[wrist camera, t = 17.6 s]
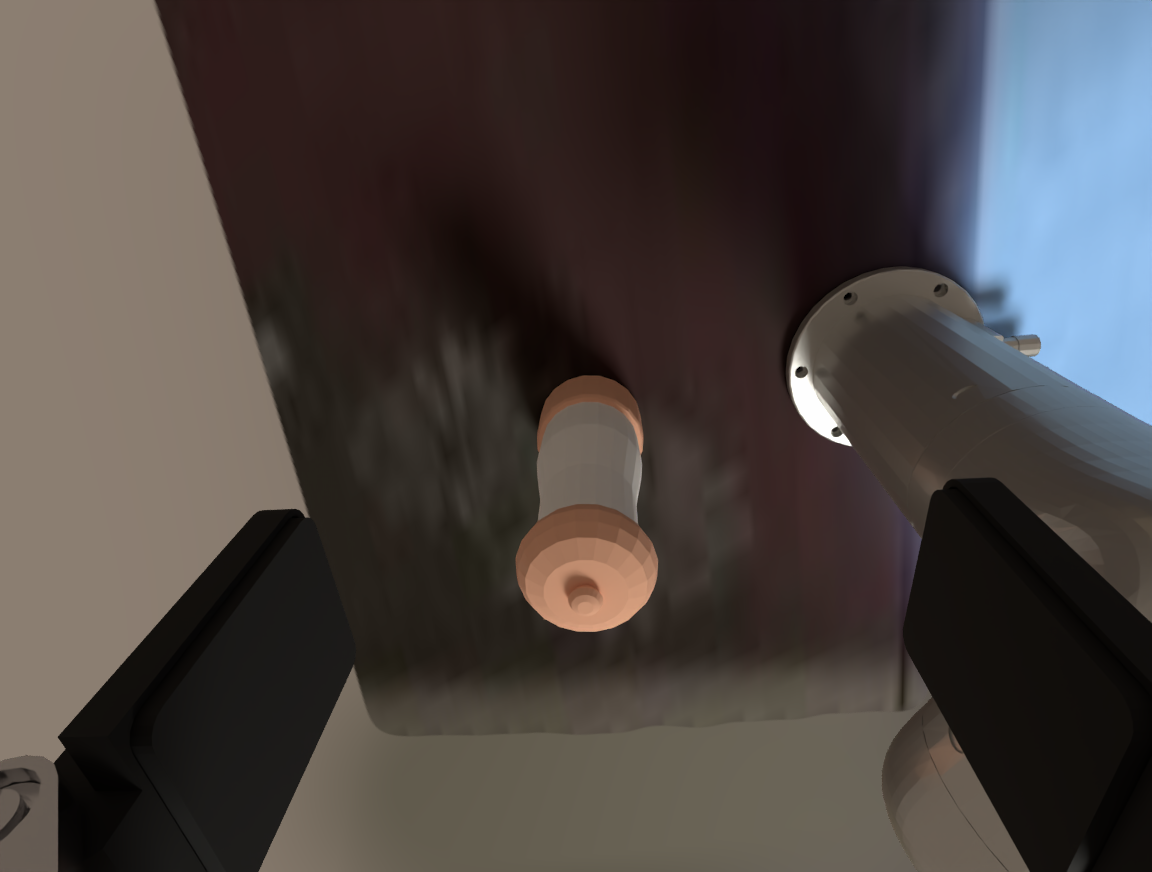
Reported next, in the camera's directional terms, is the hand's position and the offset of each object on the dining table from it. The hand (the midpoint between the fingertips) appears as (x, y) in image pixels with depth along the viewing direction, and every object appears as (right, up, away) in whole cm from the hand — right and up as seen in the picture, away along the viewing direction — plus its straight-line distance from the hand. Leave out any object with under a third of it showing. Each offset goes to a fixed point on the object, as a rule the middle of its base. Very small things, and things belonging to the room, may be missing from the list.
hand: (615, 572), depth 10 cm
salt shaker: (0, +3, +36) cm, 36 cm away
